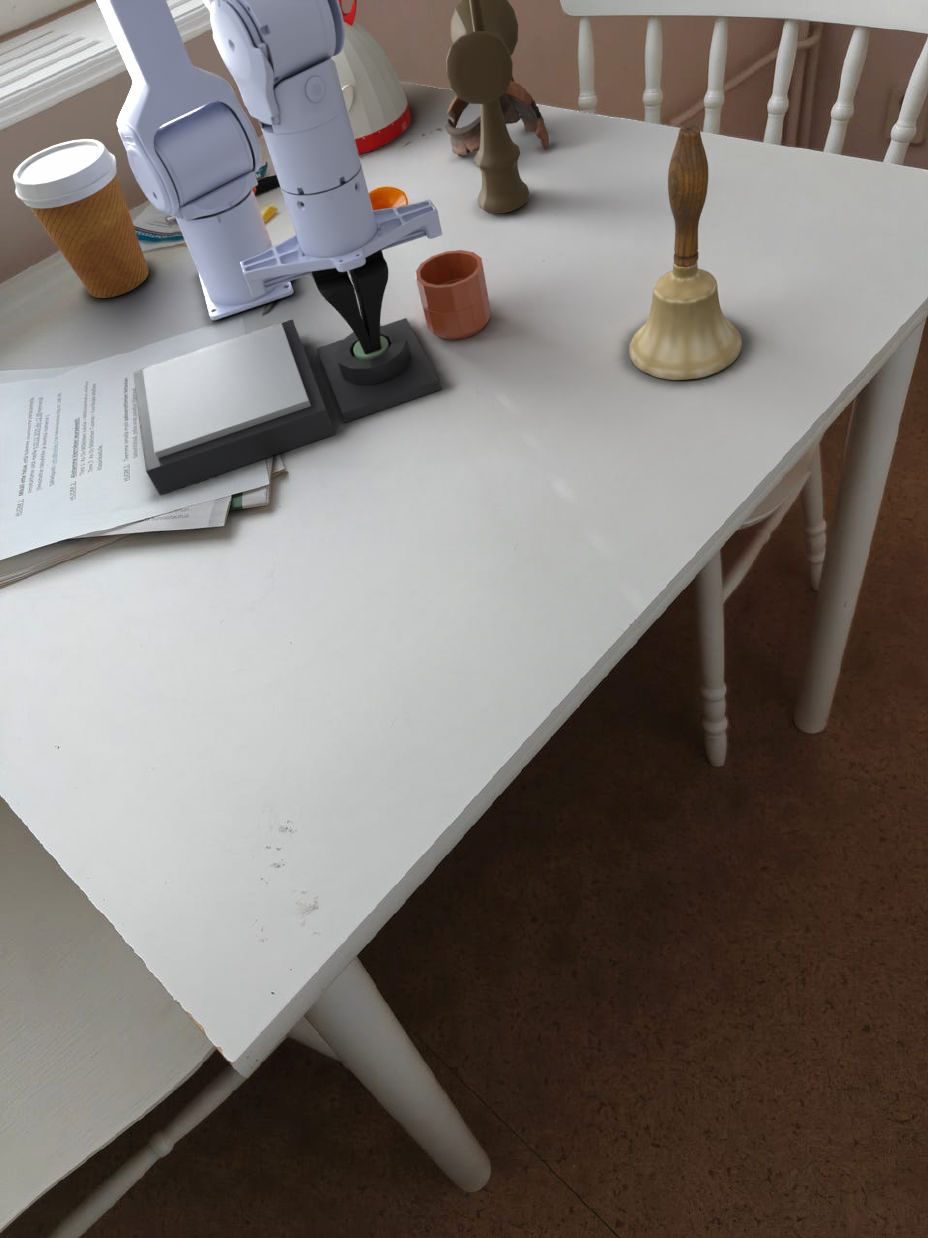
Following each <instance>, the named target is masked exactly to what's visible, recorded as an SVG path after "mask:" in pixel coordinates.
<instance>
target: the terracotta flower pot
mask: <svg viewBox="0 0 928 1238" xmlns="http://www.w3.org/2000/svg"><path fill="white" fill-rule="evenodd" d="M414 273H415V280H416V284H417V290H418V293H419V297H420V303H421V306H422V310H423V315H424V319H425V323H426V327H427V329H428V330H429V331H430V332H432V333H433V334H434V335H436V336H437V337H438V338H441V339H445V340H455V341H456V340H462V339H466V338H469V337H472V336H475V335H477V333H479V332H480V331H482V330H483V329H484V328H485V326H486V325H487V324H488V321H489V320H490V318H491V316H492V310H491V304H490V299H489V294H488V288H487V282H486V276H485V270H484V264H483V259H482V257H481V256H479V255H478V254H476V253H475V252H474V251H469V250H463V249H457V250H446V251H443V252H440V253H438V254H434V255H432V256H430V257H429V258H427V259H425V260H424V261H422V262H421V263H420V264H419V265H418V267H417V269H416V270H415V272H414Z"/></svg>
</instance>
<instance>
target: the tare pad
mask: <svg viewBox="0 0 928 1238" xmlns="http://www.w3.org/2000/svg"><path fill="white" fill-rule="evenodd" d="M380 336H382V337H384V338H386V339H387V341H388V344H389V350H388V351H386V352H385V353H384V354H382V355H381V356H379V357H376V358H373V359H358V358H356V357H355V354H354V351H353V349H354V346H355V344H356V343H357V342H358V341H359V340H358V338H357V336H356V335H355V333H354V332H353V331H352V332H351V333H350V334H349V335H347V336H346V337H345V338H342V339H339V340H337V341H334V342H330V343H327V344H325V345H322V346H319V347H316V352H317V354H318V357H319V360H320V362H321V365H322V367H323V370H324V373H325V376H326V378H327V381H328V383H329V386H330V389H331V391H332V393H333V397H334V399H335V401H336V404H337V406H338V409H339V411H340V414H341V417H342V419H343V422H344V423H348V422H351V421H354V420H357V419H360V418H363V417H366V416H368V415H371V414H374V413H378V412H380V411H383V410H386V409H389V408H391V407H395V406H397V405H400V404H404V403H406V402H409V401H412V400H415V399H418V398H421V397H424V396H427V395H430V394H433V393H435V392H438V391H441V390H442V388H443V387H442V383H441V380H440V378H439V376H438V374H437V372H436V370H435V368H434V367H433V365H432V363H431V361H430V358H429V357H428V355H427V354H426V351H425V350H424V348H423V346H422V344H421V342H420V341H419V339H418V336H417V335H416V332H415V331H414V330H413V327H412V326H411V324H410V322H409V320H408V318H406V317H405V318H402V319H399V320H396V321H392V322H390V323H386V324H384V325H380Z"/></svg>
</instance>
